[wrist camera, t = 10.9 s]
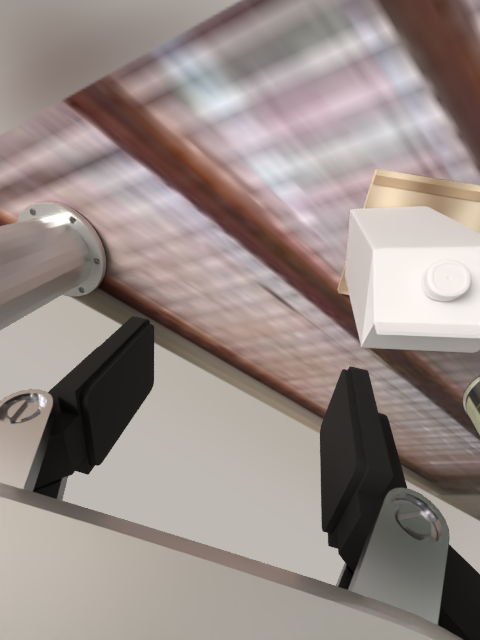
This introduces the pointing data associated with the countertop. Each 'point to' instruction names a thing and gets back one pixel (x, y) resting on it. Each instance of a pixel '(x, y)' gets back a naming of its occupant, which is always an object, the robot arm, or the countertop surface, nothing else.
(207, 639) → the robot arm
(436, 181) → the beech board
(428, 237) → the milk carton
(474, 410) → the coffee can
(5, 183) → the countertop surface
